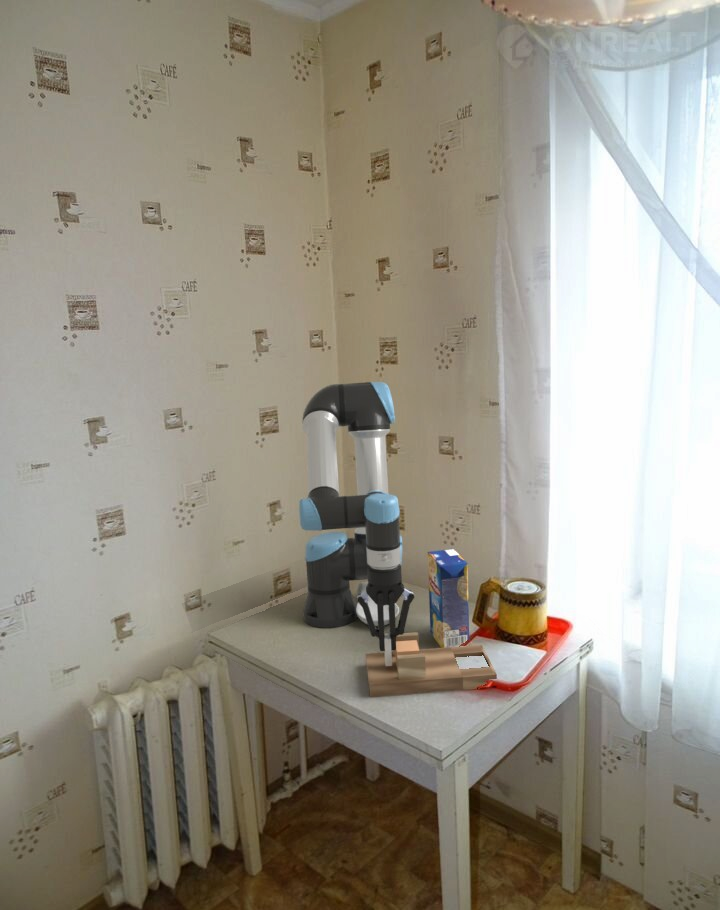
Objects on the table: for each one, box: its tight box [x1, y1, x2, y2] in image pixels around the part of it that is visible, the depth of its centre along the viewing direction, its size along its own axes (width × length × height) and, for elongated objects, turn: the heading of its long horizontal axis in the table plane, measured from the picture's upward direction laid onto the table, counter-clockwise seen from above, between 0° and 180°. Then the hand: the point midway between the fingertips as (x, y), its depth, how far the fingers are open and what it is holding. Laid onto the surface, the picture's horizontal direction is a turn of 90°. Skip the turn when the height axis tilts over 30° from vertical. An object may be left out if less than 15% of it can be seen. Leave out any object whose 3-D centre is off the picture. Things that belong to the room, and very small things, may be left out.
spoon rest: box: [355, 581, 400, 627], centre depth 189 cm, size 24×12×7 cm, turn 13°
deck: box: [365, 631, 498, 698], centre depth 154 cm, size 14×28×8 cm, turn 93°
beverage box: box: [427, 548, 470, 648], centre depth 170 cm, size 7×11×22 cm, turn 11°
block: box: [395, 640, 420, 671], centre depth 153 cm, size 5×5×5 cm
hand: (388, 663), depth 153 cm, fingers closed
